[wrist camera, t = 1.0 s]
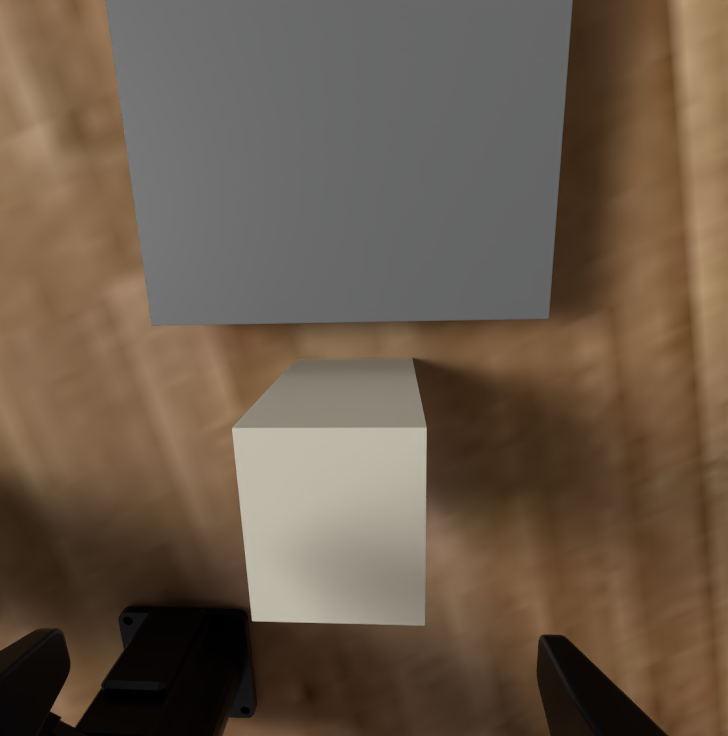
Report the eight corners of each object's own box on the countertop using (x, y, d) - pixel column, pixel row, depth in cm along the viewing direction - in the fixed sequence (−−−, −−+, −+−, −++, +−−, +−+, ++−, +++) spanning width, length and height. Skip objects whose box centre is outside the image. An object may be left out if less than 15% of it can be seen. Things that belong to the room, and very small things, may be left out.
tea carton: (412, 485, 20) (424, 625, 13) (304, 484, 21) (251, 621, 13) (411, 357, 19) (426, 427, 11) (296, 358, 19) (232, 427, 12)
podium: (523, 308, 18) (548, 318, 15) (188, 315, 19) (152, 325, 16) (545, -44, 15) (581, -115, 12) (148, -17, 16) (94, -78, 13)
